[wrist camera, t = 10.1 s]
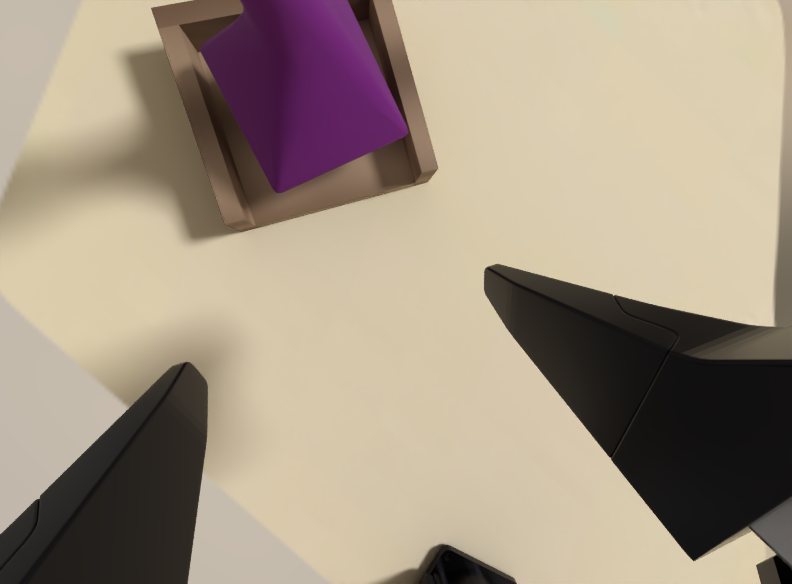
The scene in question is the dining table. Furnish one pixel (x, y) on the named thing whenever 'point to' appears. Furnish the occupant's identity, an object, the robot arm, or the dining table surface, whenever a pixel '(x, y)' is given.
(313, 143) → the perfume bottle
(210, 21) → the wooden tray
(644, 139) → the dining table surface
